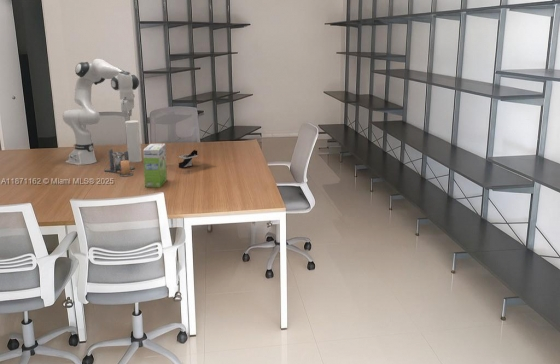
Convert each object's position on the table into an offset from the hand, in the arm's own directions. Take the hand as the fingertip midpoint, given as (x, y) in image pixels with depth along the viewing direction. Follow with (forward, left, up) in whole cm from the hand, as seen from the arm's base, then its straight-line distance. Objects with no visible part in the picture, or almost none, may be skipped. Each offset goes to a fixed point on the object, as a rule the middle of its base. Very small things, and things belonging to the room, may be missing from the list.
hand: (128, 117), depth 357 cm
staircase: (+31, +23, -38) cm, 54 cm away
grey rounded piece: (+4, -12, -37) cm, 39 cm away
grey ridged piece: (-8, -4, -37) cm, 38 cm away
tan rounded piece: (+4, -12, -36) cm, 39 cm away
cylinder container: (-16, +22, -37) cm, 46 cm away
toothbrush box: (+35, -20, -37) cm, 55 cm away
